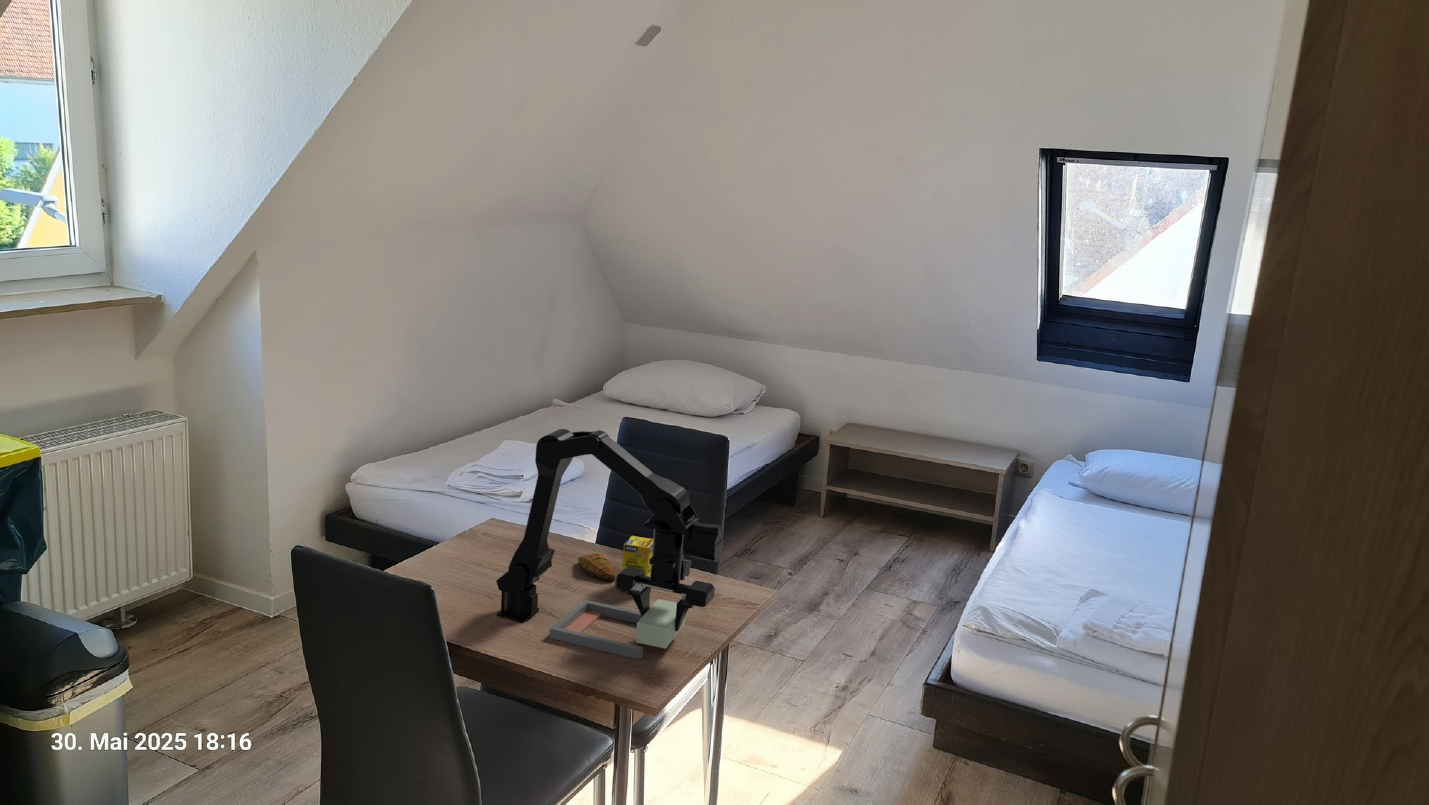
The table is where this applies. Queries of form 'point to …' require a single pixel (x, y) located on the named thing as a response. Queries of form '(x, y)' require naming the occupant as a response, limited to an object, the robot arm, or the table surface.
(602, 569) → the croissant
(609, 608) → the channel
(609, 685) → the table surface
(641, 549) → the supplement box
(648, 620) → the block
